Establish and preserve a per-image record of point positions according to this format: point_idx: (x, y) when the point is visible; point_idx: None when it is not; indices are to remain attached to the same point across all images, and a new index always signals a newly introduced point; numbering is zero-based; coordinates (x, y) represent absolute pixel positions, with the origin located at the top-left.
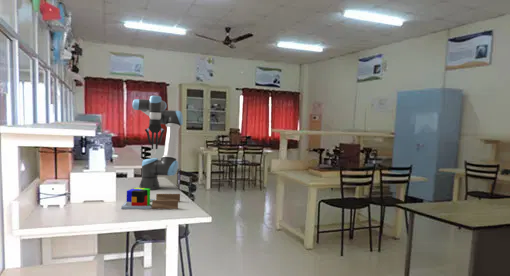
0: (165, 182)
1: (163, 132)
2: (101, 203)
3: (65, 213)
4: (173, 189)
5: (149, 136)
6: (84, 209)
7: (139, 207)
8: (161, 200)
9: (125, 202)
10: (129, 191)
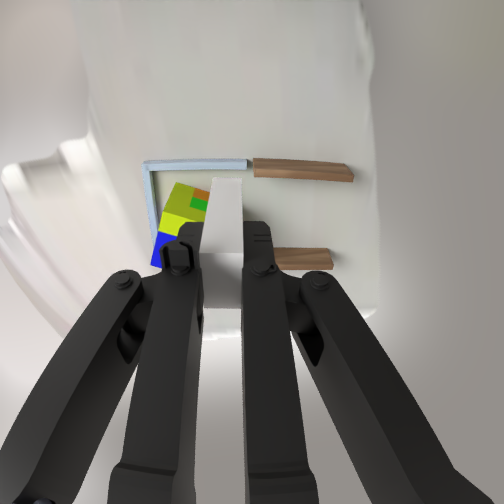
0: None
1: (448, 483)
2: (73, 190)
3: (56, 278)
4: None
5: (97, 414)
6: (69, 251)
7: None
8: (280, 269)
9: (148, 210)
10: (161, 267)
